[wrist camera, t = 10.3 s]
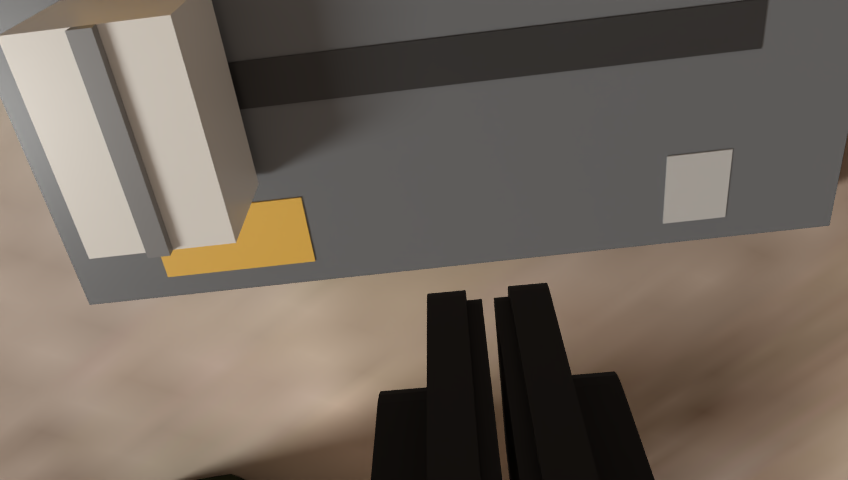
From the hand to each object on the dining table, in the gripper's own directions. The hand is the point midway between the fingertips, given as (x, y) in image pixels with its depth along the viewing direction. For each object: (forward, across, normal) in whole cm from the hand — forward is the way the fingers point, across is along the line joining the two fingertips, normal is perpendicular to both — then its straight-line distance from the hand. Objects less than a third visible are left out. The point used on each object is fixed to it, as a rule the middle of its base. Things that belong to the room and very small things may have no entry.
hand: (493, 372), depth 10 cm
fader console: (+15, +1, -1) cm, 15 cm away
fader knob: (+12, +8, -1) cm, 15 cm away
